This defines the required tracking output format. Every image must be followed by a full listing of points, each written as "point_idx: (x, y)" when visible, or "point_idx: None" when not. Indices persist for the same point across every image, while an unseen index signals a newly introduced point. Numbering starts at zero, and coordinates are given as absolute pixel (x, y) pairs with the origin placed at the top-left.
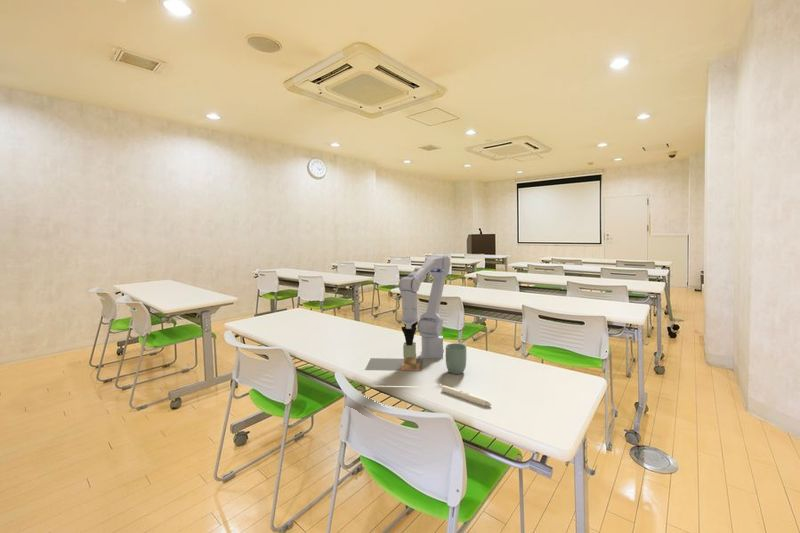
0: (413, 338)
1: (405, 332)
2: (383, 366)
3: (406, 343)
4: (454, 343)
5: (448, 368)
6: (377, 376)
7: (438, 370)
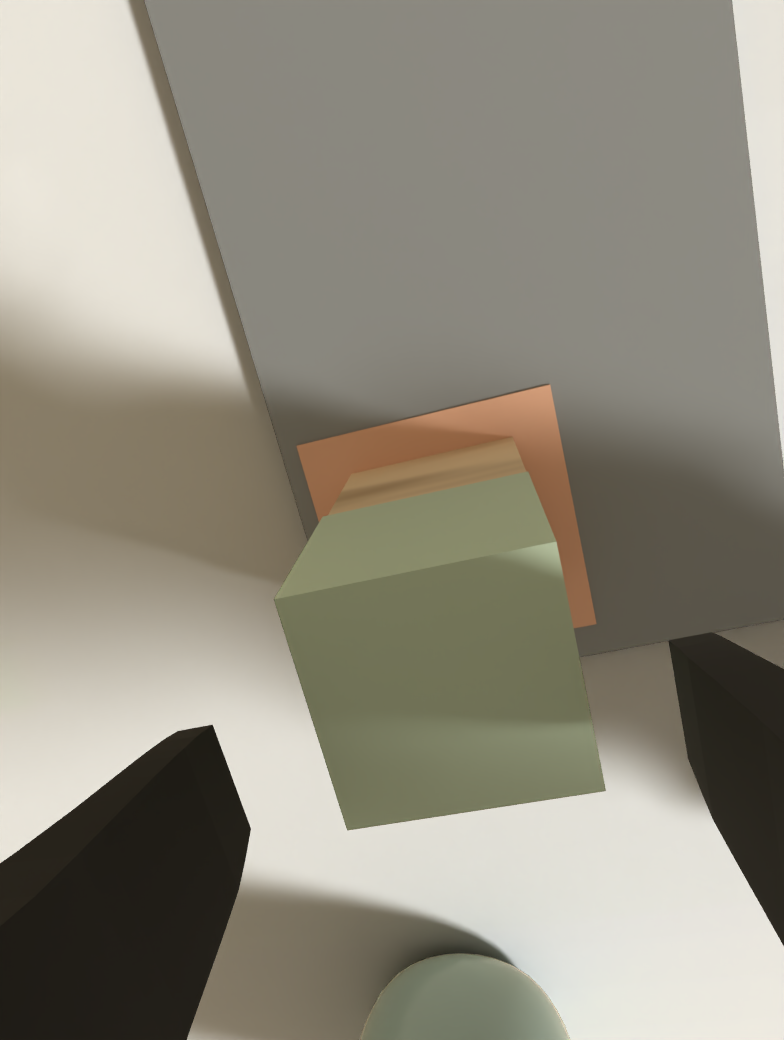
0: (700, 780)
1: None
2: (339, 129)
3: (150, 754)
4: None
5: (379, 1004)
6: (18, 188)
7: (464, 845)
